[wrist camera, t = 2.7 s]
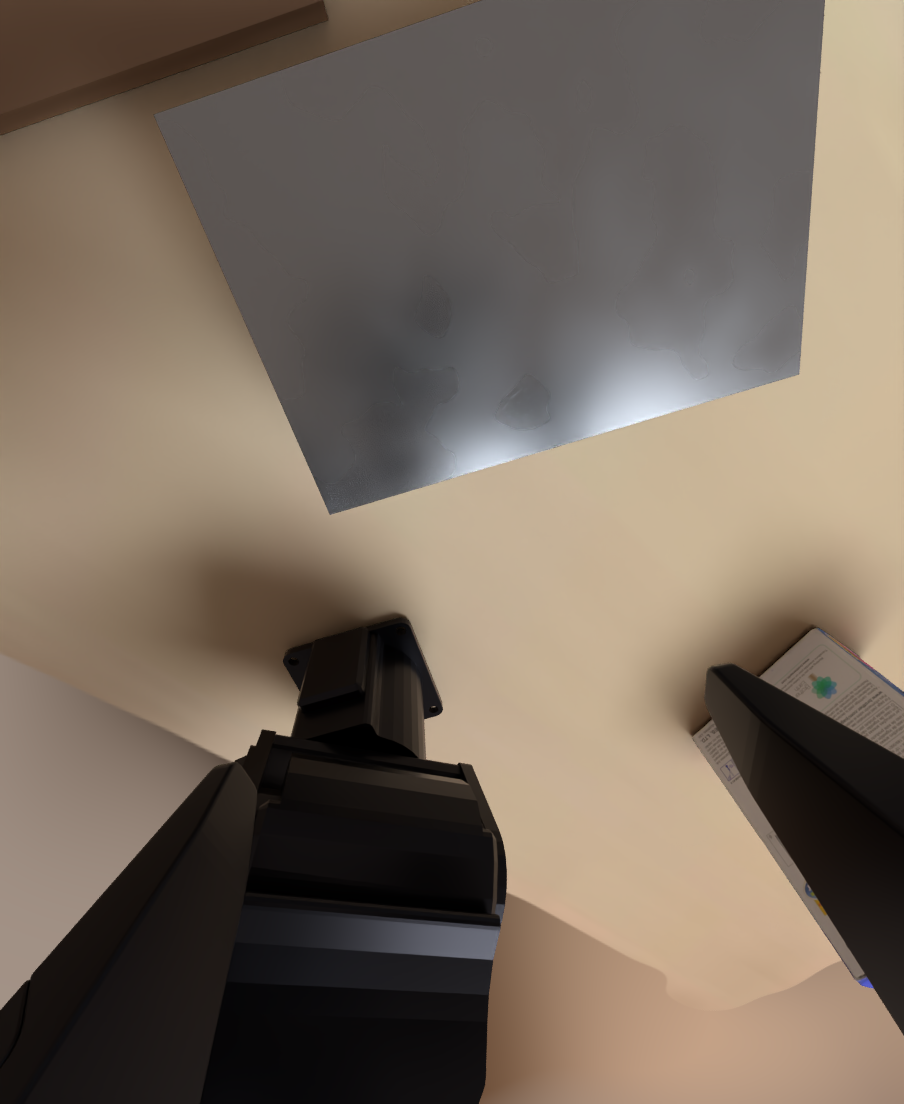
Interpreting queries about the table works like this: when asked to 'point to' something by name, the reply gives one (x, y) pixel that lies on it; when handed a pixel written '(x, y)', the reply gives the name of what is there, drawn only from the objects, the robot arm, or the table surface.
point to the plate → (122, 46)
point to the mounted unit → (514, 226)
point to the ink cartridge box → (841, 693)
